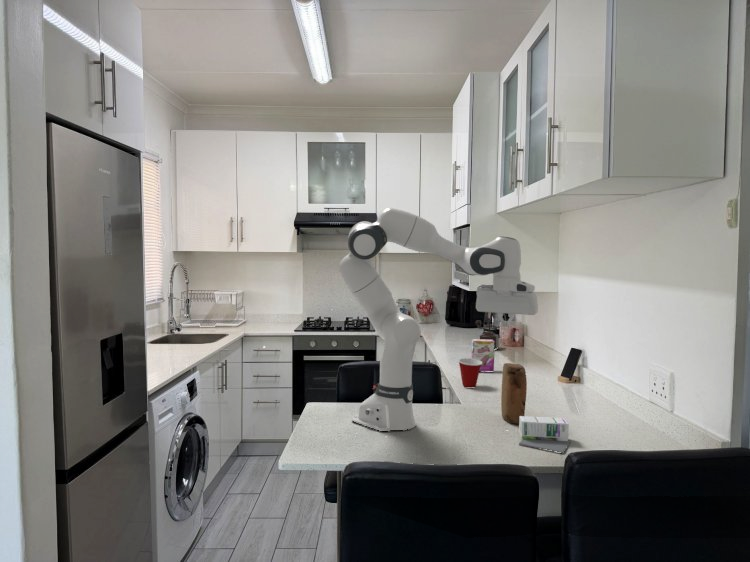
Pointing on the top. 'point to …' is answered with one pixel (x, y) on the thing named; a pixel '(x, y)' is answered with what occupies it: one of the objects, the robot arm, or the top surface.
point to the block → (513, 392)
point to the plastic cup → (469, 371)
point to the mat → (546, 444)
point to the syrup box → (543, 428)
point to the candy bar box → (484, 353)
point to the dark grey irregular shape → (488, 334)
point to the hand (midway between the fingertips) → (505, 326)
